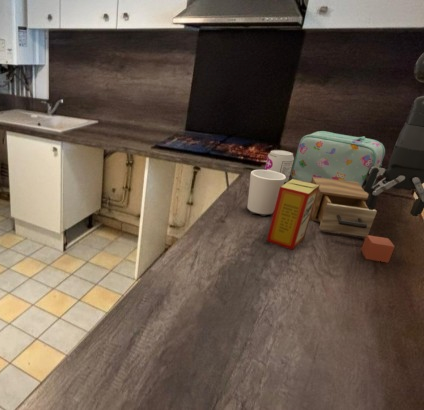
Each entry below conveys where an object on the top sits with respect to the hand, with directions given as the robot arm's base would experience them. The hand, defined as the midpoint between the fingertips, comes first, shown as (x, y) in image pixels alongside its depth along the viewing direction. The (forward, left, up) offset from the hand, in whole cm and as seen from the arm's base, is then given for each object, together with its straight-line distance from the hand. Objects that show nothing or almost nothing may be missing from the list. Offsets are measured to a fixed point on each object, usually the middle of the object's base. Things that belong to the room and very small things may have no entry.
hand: (391, 211), depth 86 cm
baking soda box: (+20, -1, -13) cm, 24 cm away
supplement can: (+21, -39, -13) cm, 46 cm away
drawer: (+5, -14, -12) cm, 19 cm away
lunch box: (+1, -51, -13) cm, 53 cm away
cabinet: (+5, -25, -12) cm, 28 cm away
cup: (+26, -18, -13) cm, 34 cm away
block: (0, 0, -13) cm, 13 cm away
